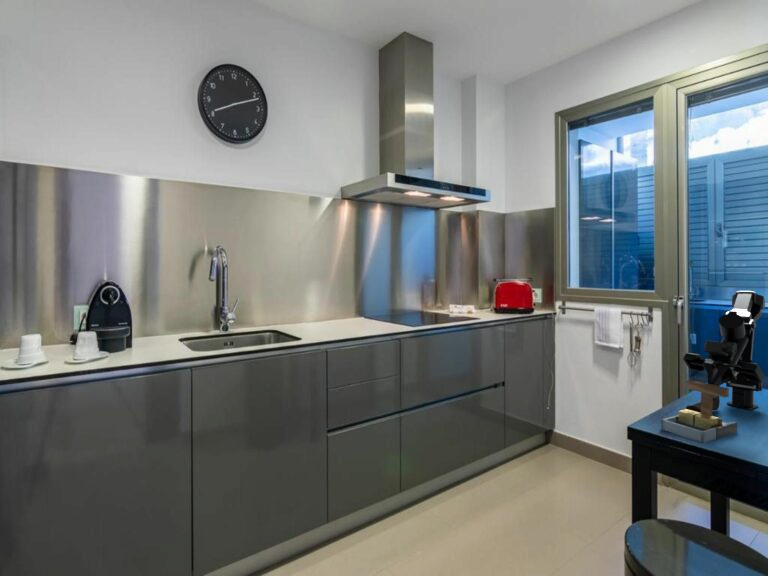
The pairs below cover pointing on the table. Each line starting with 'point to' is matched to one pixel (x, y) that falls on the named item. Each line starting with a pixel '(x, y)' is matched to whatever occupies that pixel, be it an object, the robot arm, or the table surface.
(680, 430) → the tray
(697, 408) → the hand tool
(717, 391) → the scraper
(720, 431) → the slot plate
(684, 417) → the chip
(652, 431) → the table surface
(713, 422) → the chip
